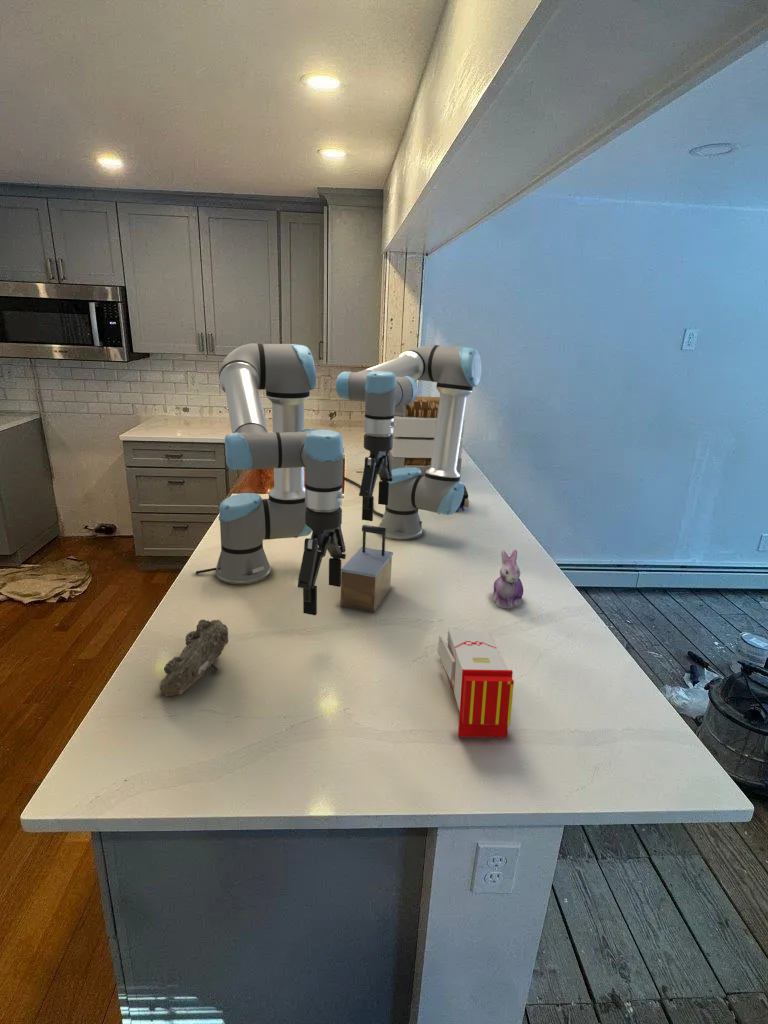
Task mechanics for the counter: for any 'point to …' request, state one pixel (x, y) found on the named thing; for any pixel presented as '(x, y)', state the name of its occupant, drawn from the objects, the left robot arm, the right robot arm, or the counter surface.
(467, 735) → the toy
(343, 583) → the chest
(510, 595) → the figurine
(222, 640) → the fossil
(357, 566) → the lid
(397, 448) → the white slatted crate
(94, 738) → the counter surface
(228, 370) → the left robot arm
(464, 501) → the figurine character
